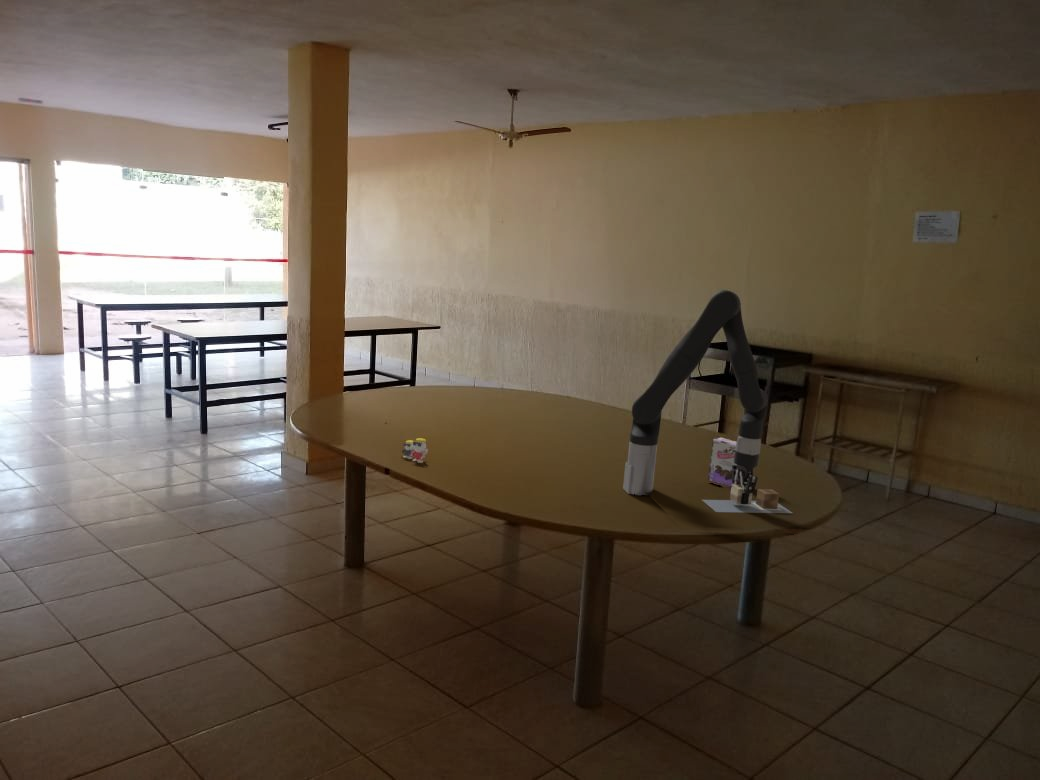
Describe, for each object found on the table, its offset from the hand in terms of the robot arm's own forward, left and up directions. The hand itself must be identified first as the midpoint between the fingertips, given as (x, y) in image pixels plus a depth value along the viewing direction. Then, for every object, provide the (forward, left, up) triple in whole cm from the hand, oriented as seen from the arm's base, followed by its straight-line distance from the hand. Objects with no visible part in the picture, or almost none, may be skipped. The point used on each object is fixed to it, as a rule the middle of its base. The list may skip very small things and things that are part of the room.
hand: (740, 501), depth 255 cm
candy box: (+7, +25, -3) cm, 26 cm away
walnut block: (+9, 0, -2) cm, 9 cm away
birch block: (0, 0, 0) cm, 0 cm away
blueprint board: (+2, 0, -3) cm, 4 cm away
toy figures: (-103, +51, -3) cm, 114 cm away
